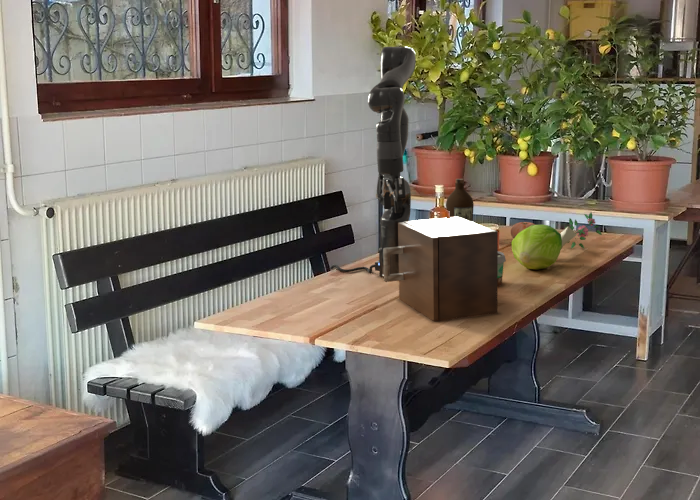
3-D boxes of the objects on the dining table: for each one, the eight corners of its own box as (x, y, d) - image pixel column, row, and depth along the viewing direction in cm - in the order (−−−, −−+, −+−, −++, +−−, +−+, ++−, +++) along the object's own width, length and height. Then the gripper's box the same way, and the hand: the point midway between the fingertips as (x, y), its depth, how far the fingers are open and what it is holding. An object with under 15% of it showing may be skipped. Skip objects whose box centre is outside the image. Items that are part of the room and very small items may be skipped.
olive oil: (442, 241, 368) (442, 178, 363) (468, 239, 370) (467, 176, 365) (451, 246, 358) (451, 181, 353) (477, 244, 360) (477, 180, 355)
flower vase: (541, 279, 334) (577, 240, 360) (572, 273, 326) (607, 234, 352) (530, 249, 332) (567, 213, 358) (560, 243, 324) (596, 206, 350)
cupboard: (439, 321, 261) (438, 236, 256) (404, 298, 285) (403, 221, 280) (497, 313, 266) (497, 231, 261) (458, 292, 291) (458, 216, 286)
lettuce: (503, 278, 316) (496, 235, 313) (530, 261, 331) (524, 219, 328) (548, 279, 306) (542, 234, 302) (573, 261, 321) (568, 218, 317)
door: (414, 323, 259) (412, 239, 254) (381, 301, 283) (379, 224, 278) (438, 320, 261) (438, 237, 256) (403, 298, 285) (402, 222, 280)
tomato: (541, 244, 357) (541, 223, 356) (512, 245, 358) (513, 224, 356) (536, 238, 368) (536, 218, 366) (508, 239, 368) (508, 219, 366)
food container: (504, 289, 292) (505, 258, 290) (484, 289, 294) (485, 258, 292) (506, 280, 304) (506, 250, 302) (487, 279, 305) (487, 249, 303)
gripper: (369, 156, 279) (372, 209, 282) (387, 159, 266) (390, 215, 269) (392, 153, 282) (395, 207, 285) (411, 156, 269) (414, 212, 272)
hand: (393, 211), depth 277 cm, fingers open, 8 cm apart
